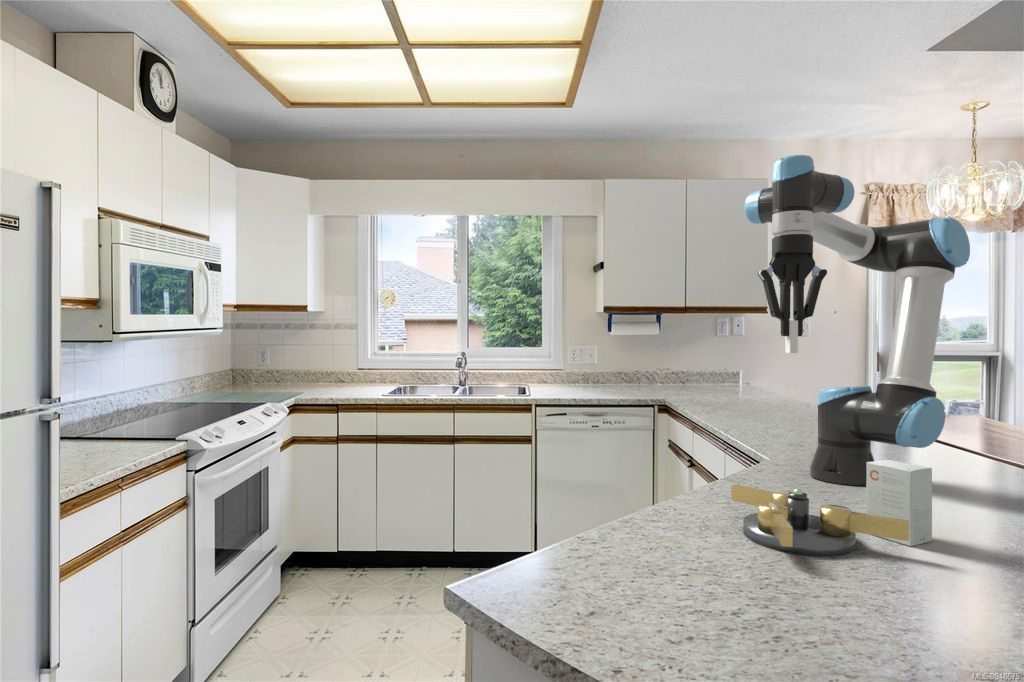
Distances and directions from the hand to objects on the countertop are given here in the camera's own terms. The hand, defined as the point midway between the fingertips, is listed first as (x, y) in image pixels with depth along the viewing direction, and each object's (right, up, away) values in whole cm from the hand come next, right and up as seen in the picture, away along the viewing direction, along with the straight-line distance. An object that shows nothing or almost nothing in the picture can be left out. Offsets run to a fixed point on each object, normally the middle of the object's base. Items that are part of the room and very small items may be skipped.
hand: (791, 352), depth 122 cm
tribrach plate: (-5, -33, -14) cm, 36 cm away
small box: (+13, -33, -14) cm, 38 cm away
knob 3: (+3, -30, -20) cm, 37 cm away
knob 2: (-12, -30, -21) cm, 39 cm away
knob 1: (-8, -30, -5) cm, 32 cm away
